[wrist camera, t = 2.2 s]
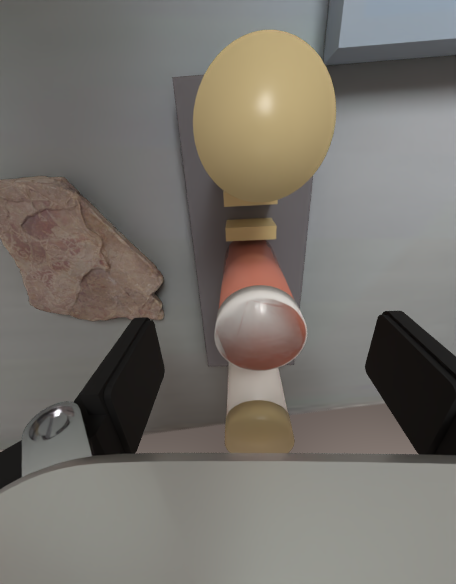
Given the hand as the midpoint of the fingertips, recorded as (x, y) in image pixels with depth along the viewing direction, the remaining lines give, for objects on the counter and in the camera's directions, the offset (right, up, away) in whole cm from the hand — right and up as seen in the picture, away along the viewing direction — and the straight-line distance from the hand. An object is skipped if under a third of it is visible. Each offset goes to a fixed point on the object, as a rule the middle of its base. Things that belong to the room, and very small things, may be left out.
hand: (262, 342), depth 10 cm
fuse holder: (0, +6, +9) cm, 11 cm away
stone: (-13, +5, +11) cm, 17 cm away
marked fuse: (0, +5, +7) cm, 9 cm away
